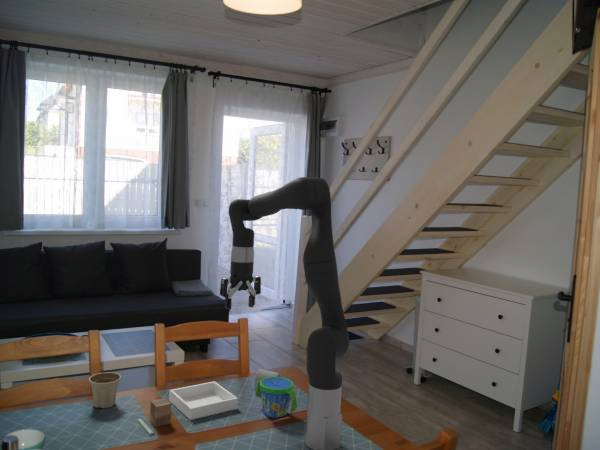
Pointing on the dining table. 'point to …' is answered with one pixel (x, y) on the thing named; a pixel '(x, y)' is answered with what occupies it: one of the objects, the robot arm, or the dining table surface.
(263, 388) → the snack cup
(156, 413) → the walnut block
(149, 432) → the sage mat
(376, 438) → the dining table surface
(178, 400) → the white bin
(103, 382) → the flower pot
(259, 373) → the ceramic mug
